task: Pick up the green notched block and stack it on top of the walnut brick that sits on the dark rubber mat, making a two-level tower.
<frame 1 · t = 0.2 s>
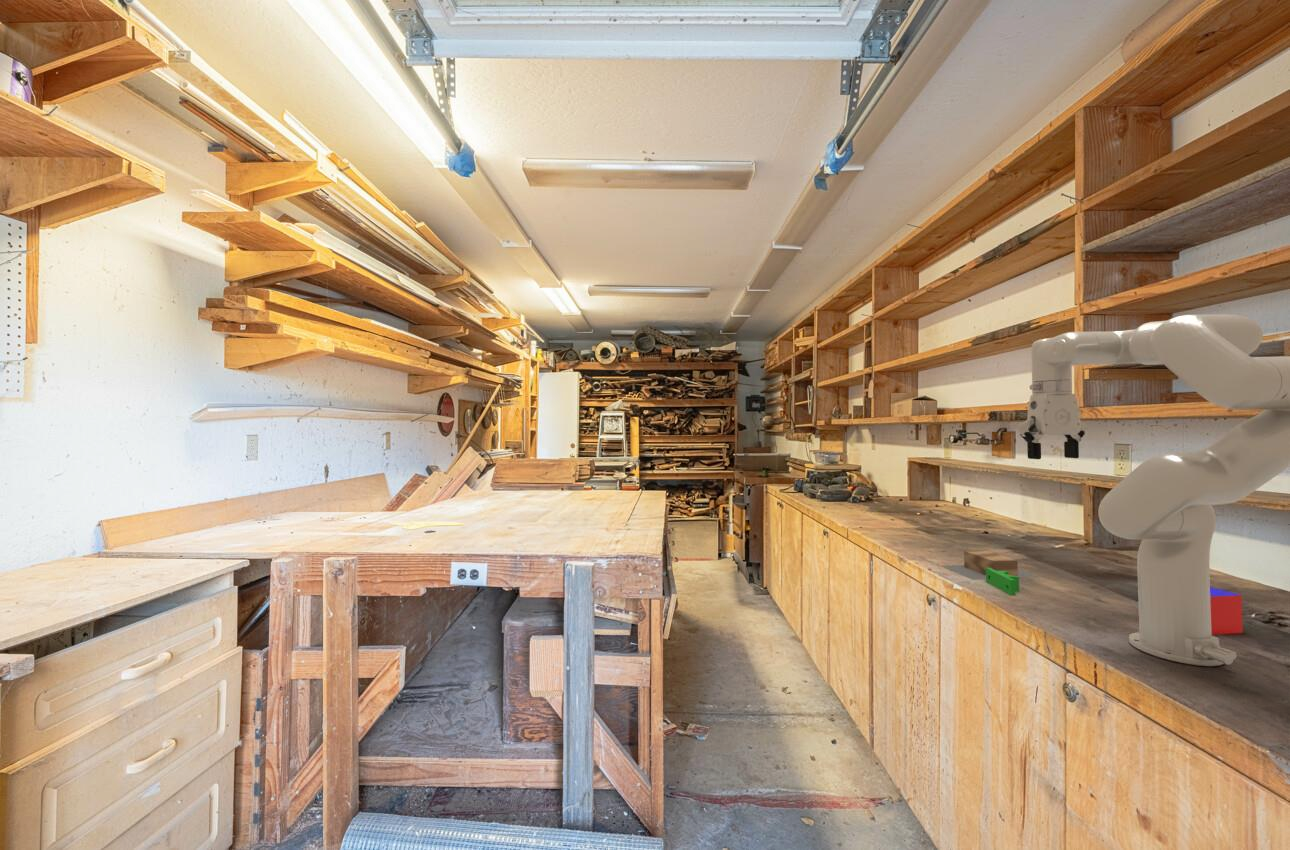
hand: (1052, 458, 119), 36 cm above the worktop, tool pointing down, fingers open, 9 cm apart
base brick: (990, 572, 145), resting on mat
mat: (987, 572, 146), on the worktop
green notched block: (1005, 591, 131), on the worktop
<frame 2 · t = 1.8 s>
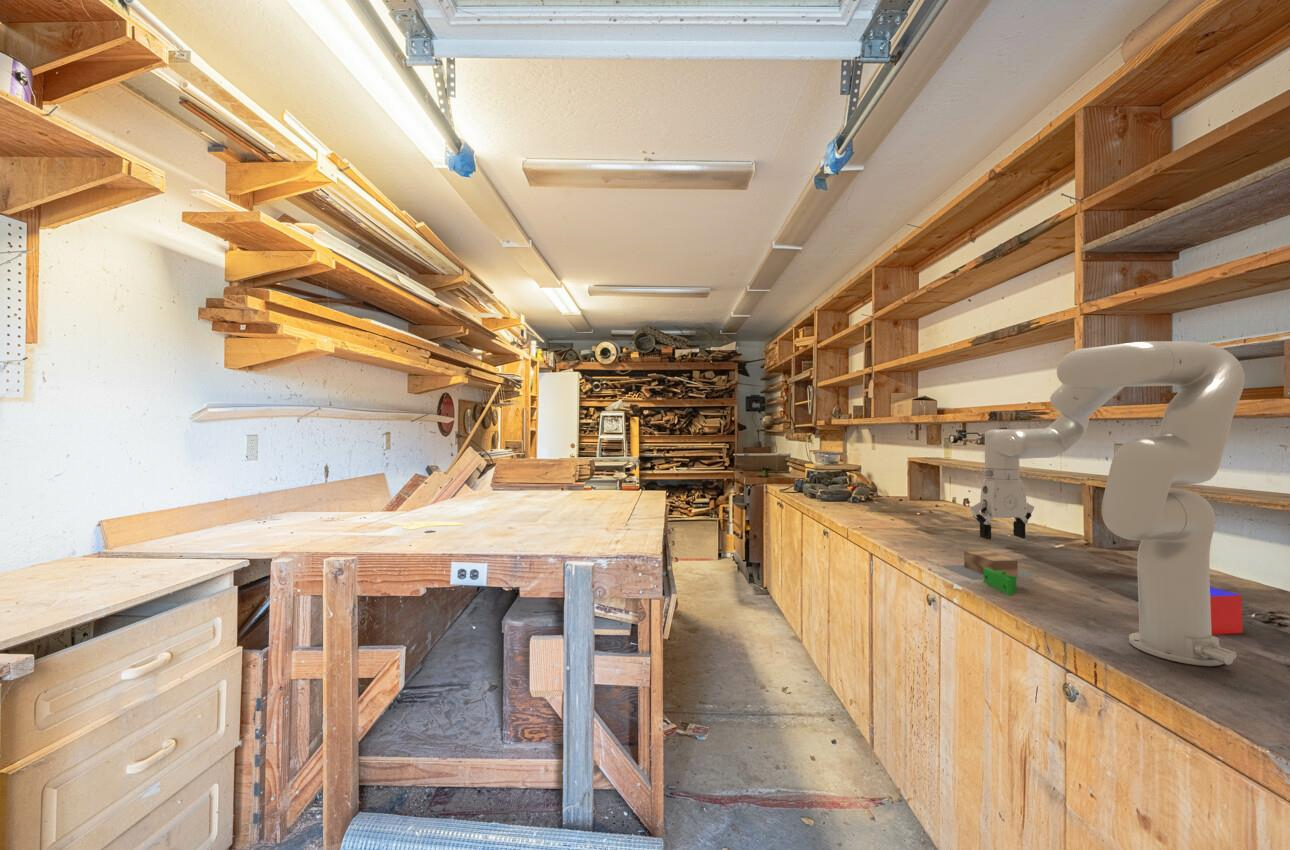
hand: (1002, 537, 132), 14 cm above the worktop, tool pointing down, fingers open, 9 cm apart
nothing on the worktop moved.
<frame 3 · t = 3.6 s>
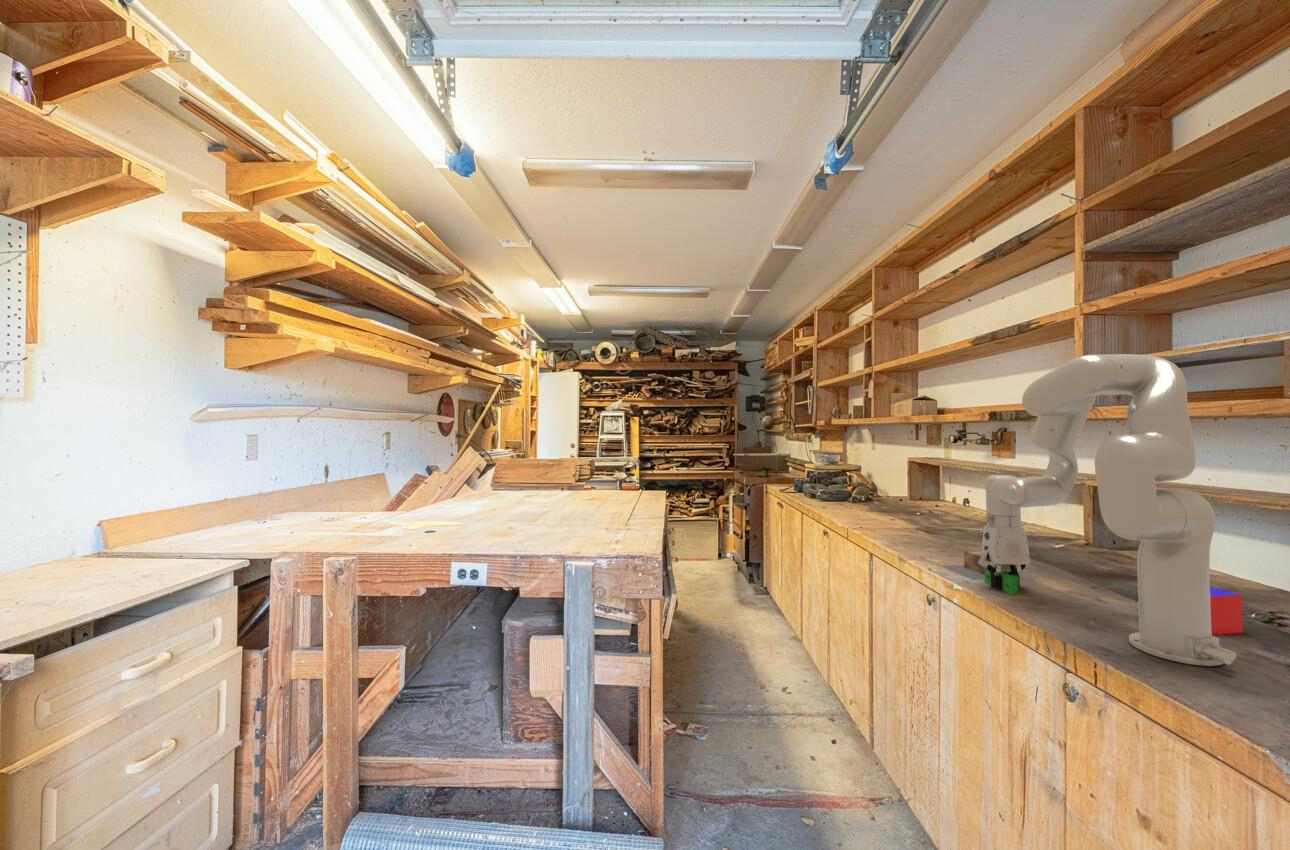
hand: (1005, 587, 131), 0 cm above the worktop, tool pointing down, fingers closed on green notched block, 4 cm apart
green notched block: (1004, 590, 131), on the worktop, touching gripper
everything else where it was.
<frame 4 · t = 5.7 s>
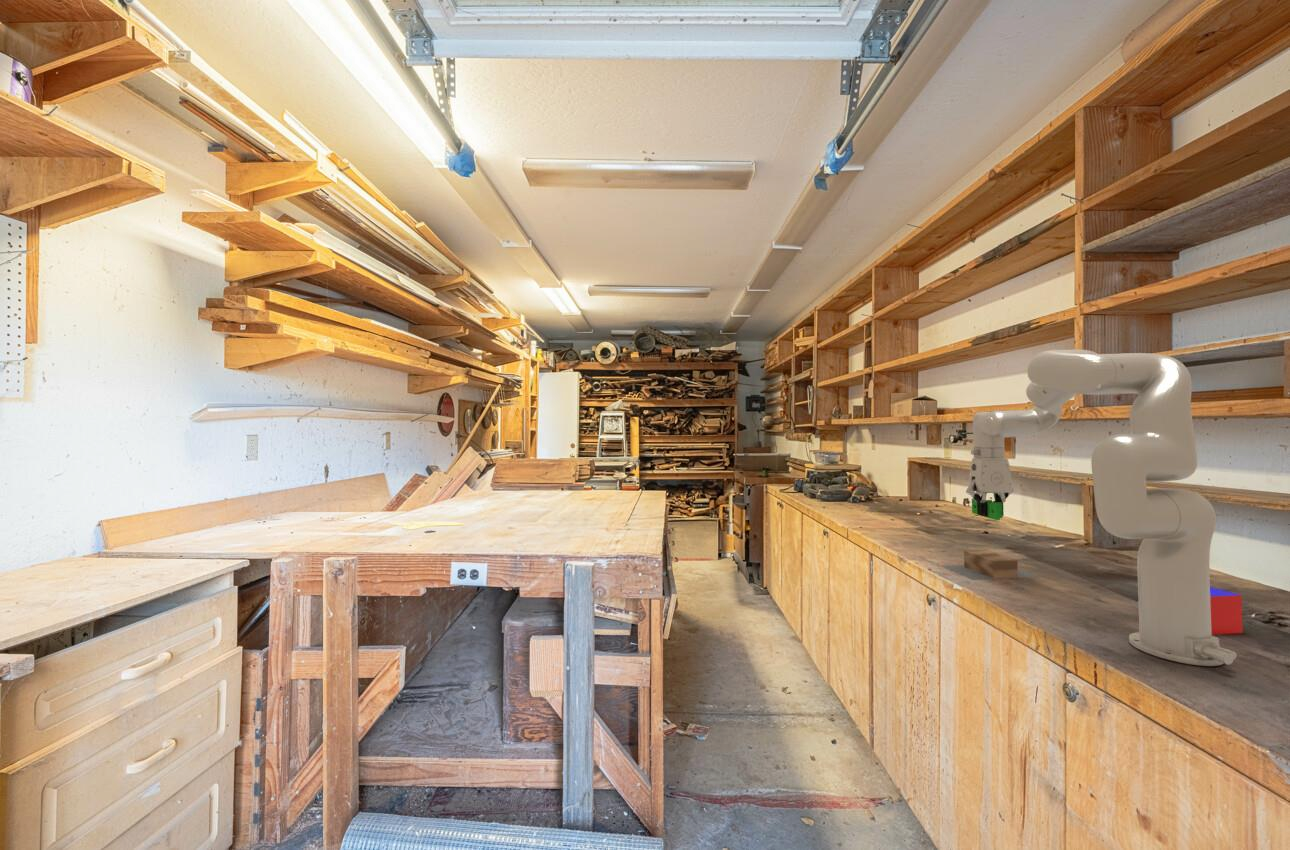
hand: (990, 514, 143), 18 cm above the worktop, tool pointing down, fingers closed on green notched block, 4 cm apart
green notched block: (989, 517, 143), point 17 cm above the worktop, touching gripper
everything else where it was.
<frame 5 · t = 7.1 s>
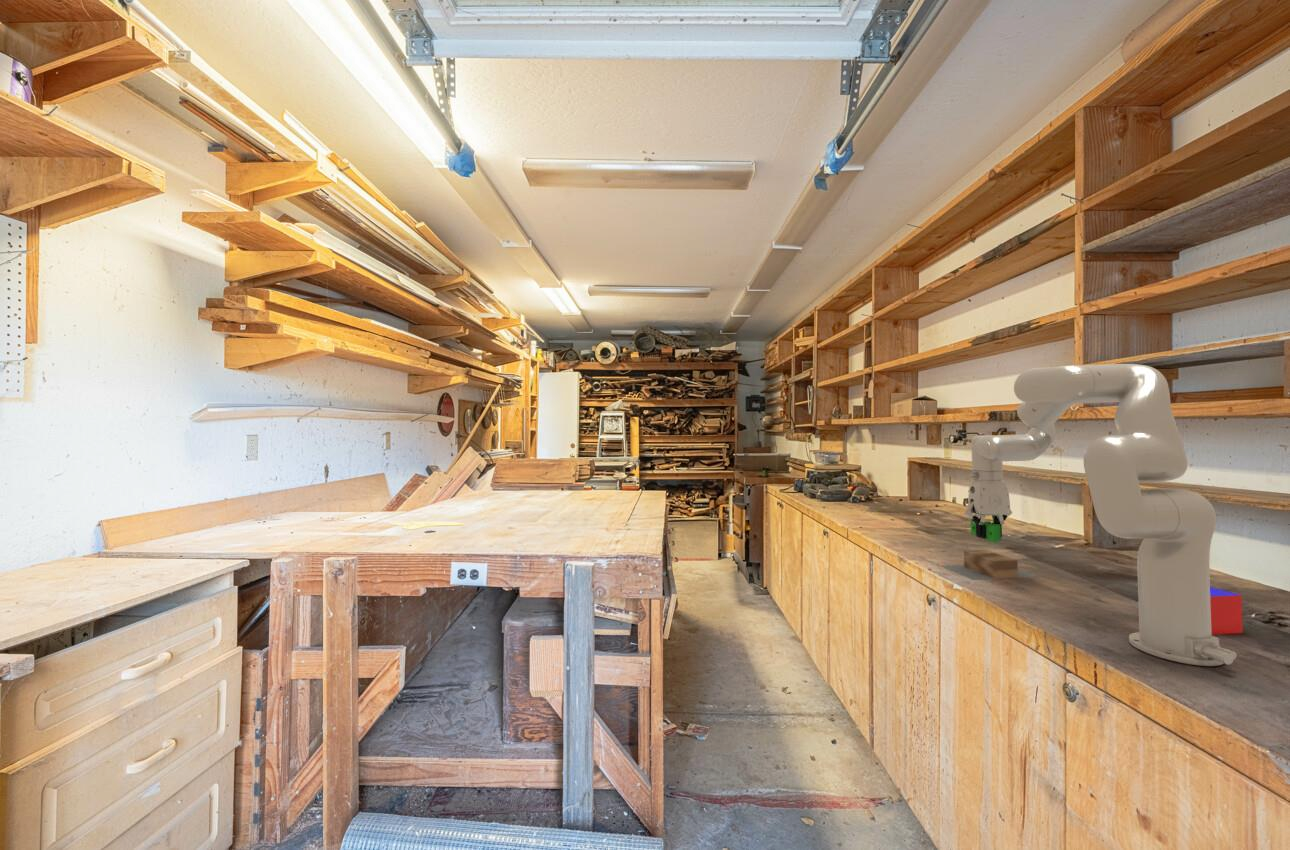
hand: (988, 536, 145), 11 cm above the worktop, tool pointing down, fingers closed on green notched block, 4 cm apart
green notched block: (988, 538, 146), point 10 cm above the worktop, touching gripper
everything else where it was.
when the fingers open (6 cm above the worktop, at t = 8.2 s): green notched block stays where it is, resting on base brick.
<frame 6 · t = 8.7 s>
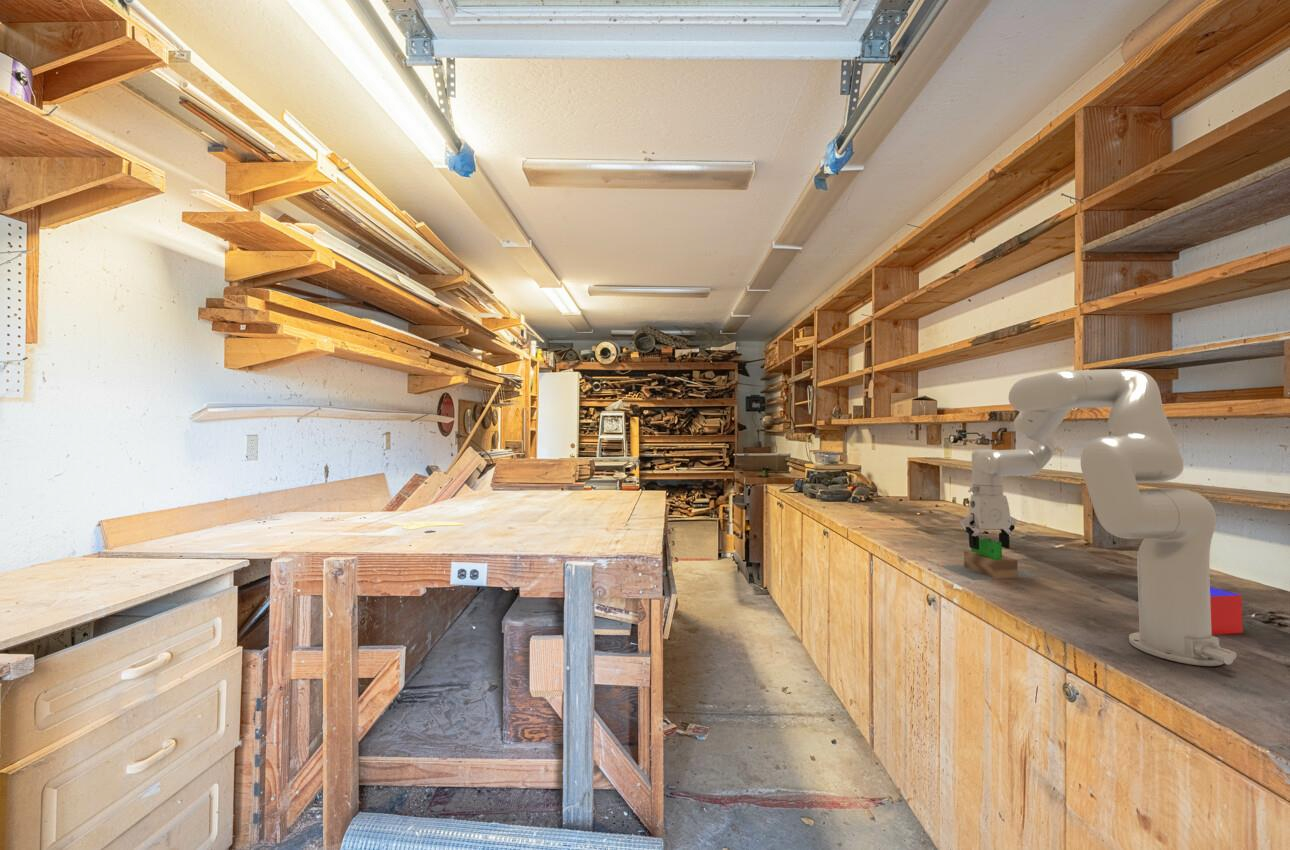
hand: (989, 547, 145), 8 cm above the worktop, tool pointing down, fingers open, 9 cm apart
base brick: (990, 572, 145), resting on mat, touching green notched block
green notched block: (989, 556, 145), point 5 cm above the worktop, touching base brick
everything else where it was.
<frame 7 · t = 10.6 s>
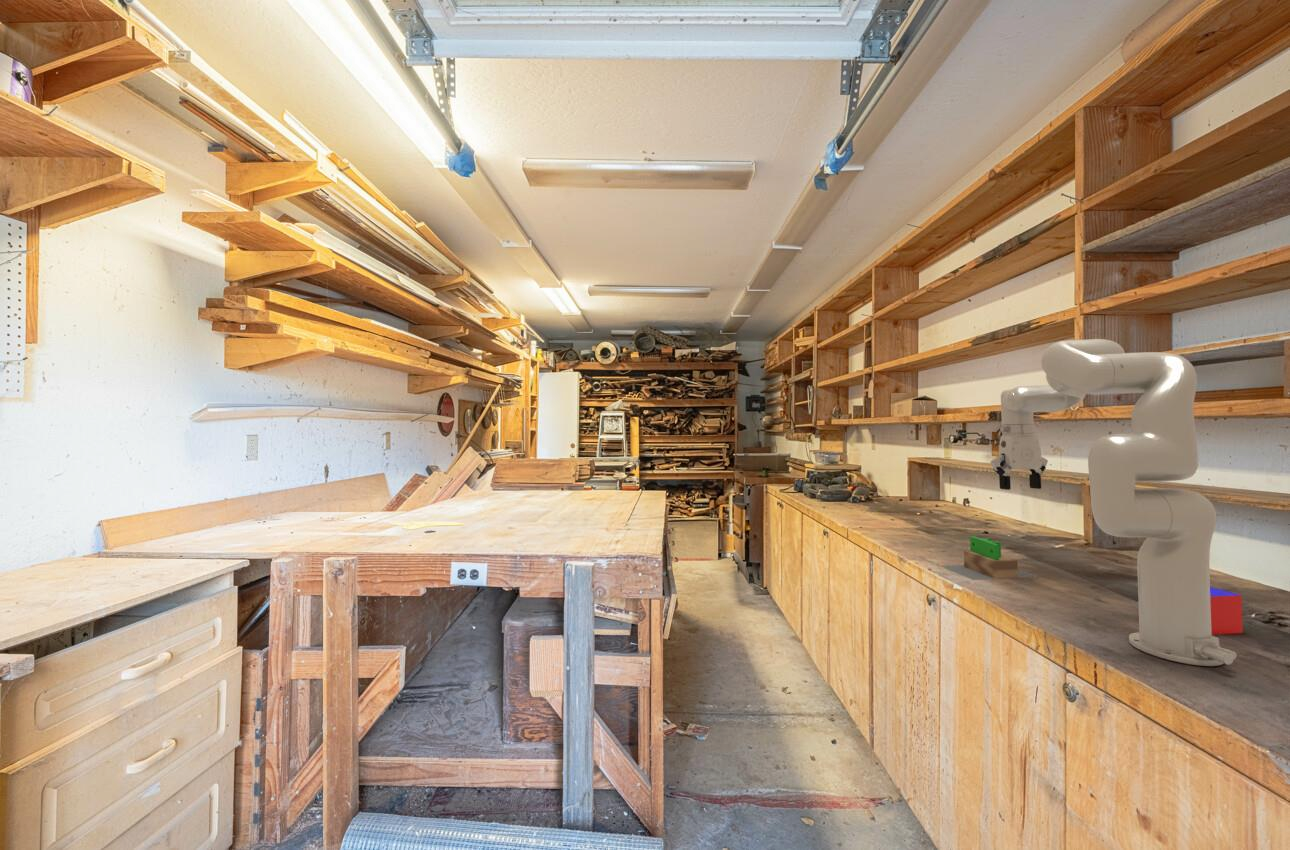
hand: (1020, 488, 143), 26 cm above the worktop, tool pointing down, fingers open, 9 cm apart
nothing on the worktop moved.
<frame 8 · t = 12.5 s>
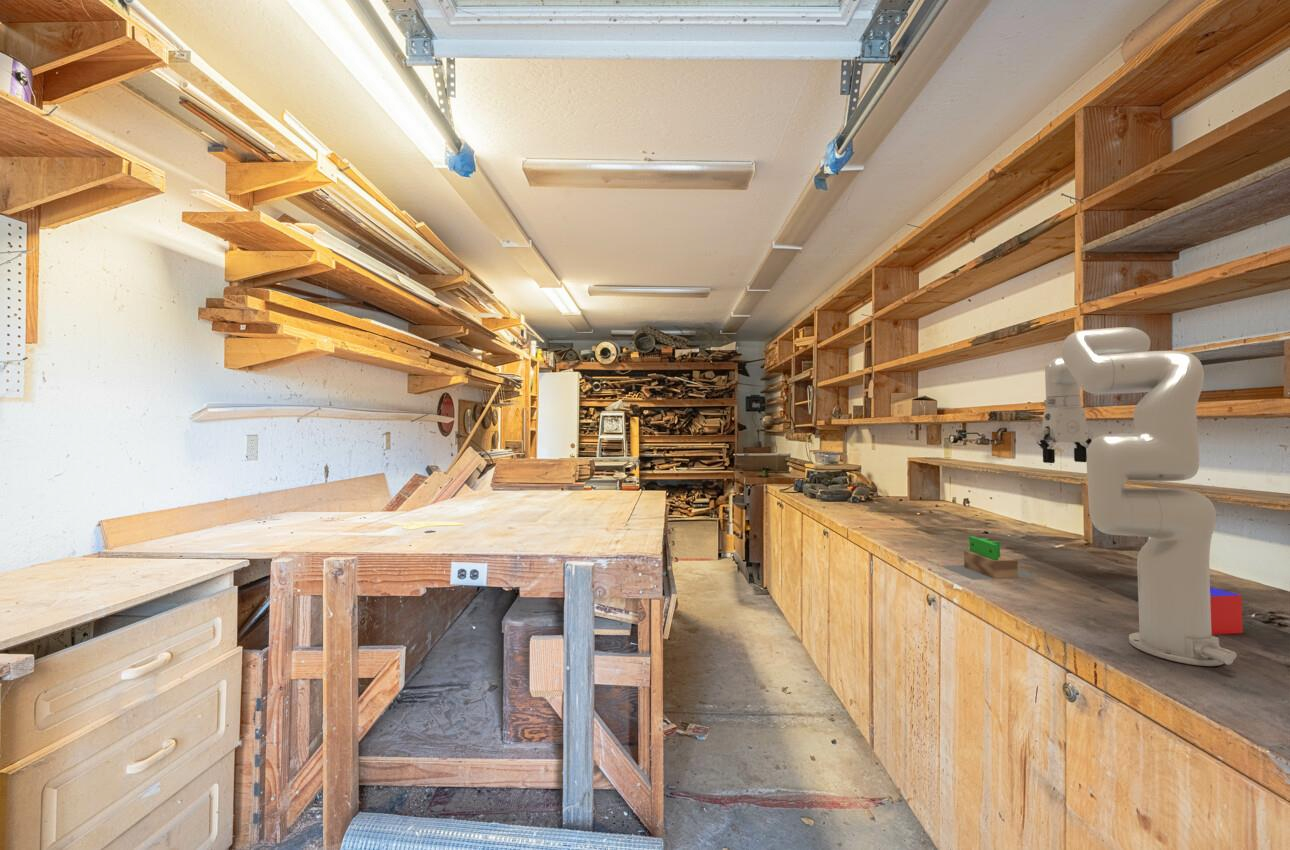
hand: (1064, 462, 140), 33 cm above the worktop, tool pointing down, fingers open, 9 cm apart
nothing on the worktop moved.
at the end: green notched block 0.6 cm from the base brick (horizontally); green notched block point 5.2 cm above the worktop; base brick tilted 0° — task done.
